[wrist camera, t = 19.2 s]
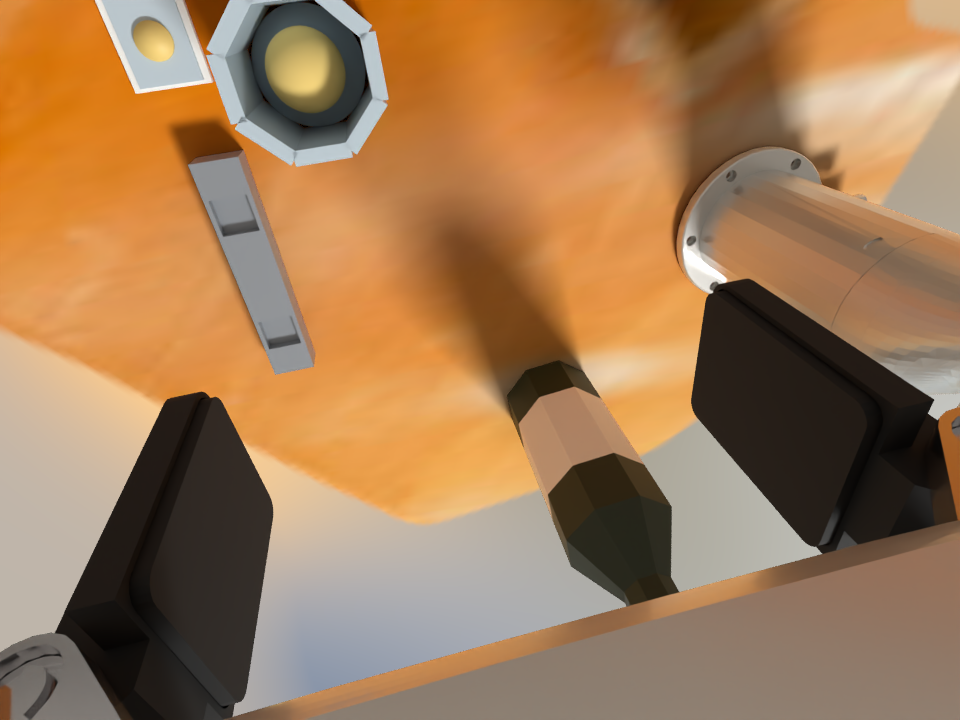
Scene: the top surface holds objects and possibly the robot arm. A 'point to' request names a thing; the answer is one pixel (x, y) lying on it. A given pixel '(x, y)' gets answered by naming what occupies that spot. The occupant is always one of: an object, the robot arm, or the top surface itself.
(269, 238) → the holder
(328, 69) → the ball ochre
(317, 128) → the tube bluegrey
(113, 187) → the top surface
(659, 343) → the top surface
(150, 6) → the card
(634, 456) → the wine bottle
